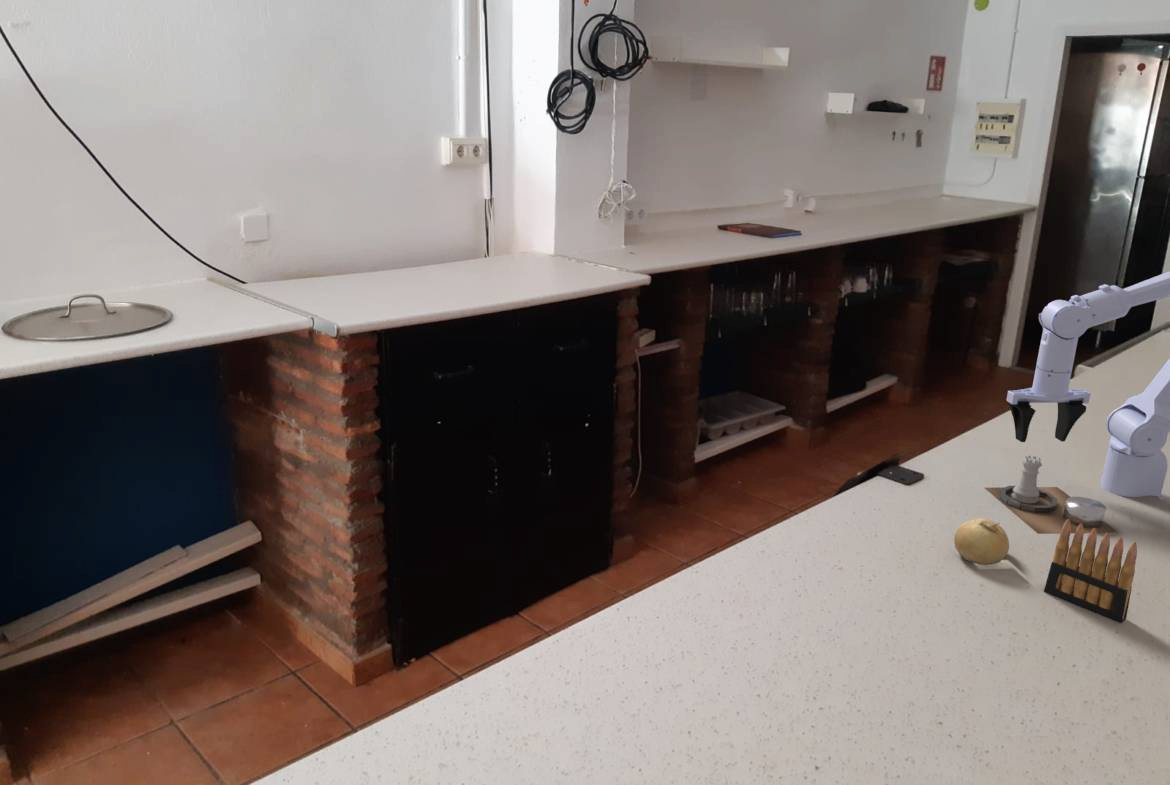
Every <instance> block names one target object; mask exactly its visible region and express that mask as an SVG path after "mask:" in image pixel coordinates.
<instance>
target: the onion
mask: <svg viewBox="0 0 1170 785" xmlns="http://www.w3.org/2000/svg"><path fill="white" fill-rule="evenodd" d="M953 540H954V541H953V542H954V543H953V544H954V548H955V550H956V551H957V552H958V554H959V555H961V557H962V558H963V559H965V560H967V561H968V562H971V563H974V564H978V565H983V566H985V565H987V566H988V565H994V564H998V563H1000V562H1001V561H1003V560H1004V559H1005V558H1006V557H1007V555H1008V554H1009V549H1010V540H1009V537H1008V535H1007V533H1006V531H1005V529H1004V528H1003V527H1002V526H1000V522H994V521H992V520H991V519H989V518H983V517H982V518H981V517H980V518H979V517H978V518H974V519H970V520H968V521H965V522H963V523H962V524H960V525H959V527H957V529H956V532H955V533H954V538H953Z"/></svg>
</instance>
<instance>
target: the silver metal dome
mask: <svg viewBox="0 0 1170 785" xmlns="http://www.w3.org/2000/svg"><path fill="white" fill-rule="evenodd" d="M1106 511H1107V507H1106V505H1105V504H1103V503H1102V502H1100V501H1098V500H1096V499H1092V498H1088V497H1085V496H1070V497H1069V498H1067V499H1066V504H1065V508H1064V513H1063V518H1064V519H1065V520H1067V519H1069V520H1070V523H1071V524H1073V525H1076V526H1079V525H1080V524H1081V523H1082V524H1083V527H1084V528H1099V527H1101V526H1102V524H1103V521H1104V518H1105V516H1106V515H1105V514H1106Z"/></svg>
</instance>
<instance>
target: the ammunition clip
mask: <svg viewBox="0 0 1170 785" xmlns="http://www.w3.org/2000/svg"><path fill="white" fill-rule="evenodd" d="M1070 531H1071V524H1070V520H1069V519H1067V520H1066V522H1065V523H1064V525H1063V528H1062V530H1061V533H1059V534H1060V535H1059V538H1058V541H1057V543H1056V546H1055V549H1054V555H1053V560H1052V561H1051V564H1050V568H1049V571H1048V575H1047V579H1046V582H1045V586H1044V590H1043V593H1045V594H1048V596H1049V595H1050V596H1052V597H1055V598H1057V599H1059V600H1062V601H1064V602H1067V603H1070V604H1072V605H1074V606H1077V607H1079V608H1081V609H1084V610H1086V611H1088V612H1091V613H1094V614H1096V615H1098V616H1102V617H1104V618H1106V619H1108V620H1111V621H1113V622H1114V623H1115V622H1116V623H1118V624H1121V623H1123V622H1124V621H1125V620H1127V615H1128V611H1129V606H1130V599H1131V594H1132V588H1133V587H1132V586H1133V582H1134V578H1135V572H1136V570H1135V568H1136V561H1137V557H1138V556H1137V555H1138V545H1137V542H1136V541H1134V542H1133V543H1132V544H1131V545H1130V547H1129V548H1128V550H1127V552H1126V556H1125V559H1124V562H1123V565H1122V560H1123V554H1124V539H1123V537H1121V536H1120V537H1119V538H1118V539H1117V541H1116V542H1115V544H1114V547H1113V550H1112V553H1111V556H1110V560H1109V552H1110V547H1111V536H1110V533H1105V534H1104V536H1103V537H1102V539H1101V541H1100V544H1099V547H1098V550H1097V554H1096V553H1095V552H1096V546H1097V540H1098V537H1097V536H1098V533H1097V532H1096V528H1093V530H1092V531H1091V533H1088V537H1087V540H1086V543H1085V546H1084V549H1082V548H1083V541H1084V534H1085V533H1084V529H1083V524H1082V523H1081V524H1080V525H1079V526H1078V528H1077V530H1076V532H1075V533H1073V534H1074V535H1073V538H1072V542H1071V545H1070V537H1071V533H1070Z"/></svg>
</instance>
